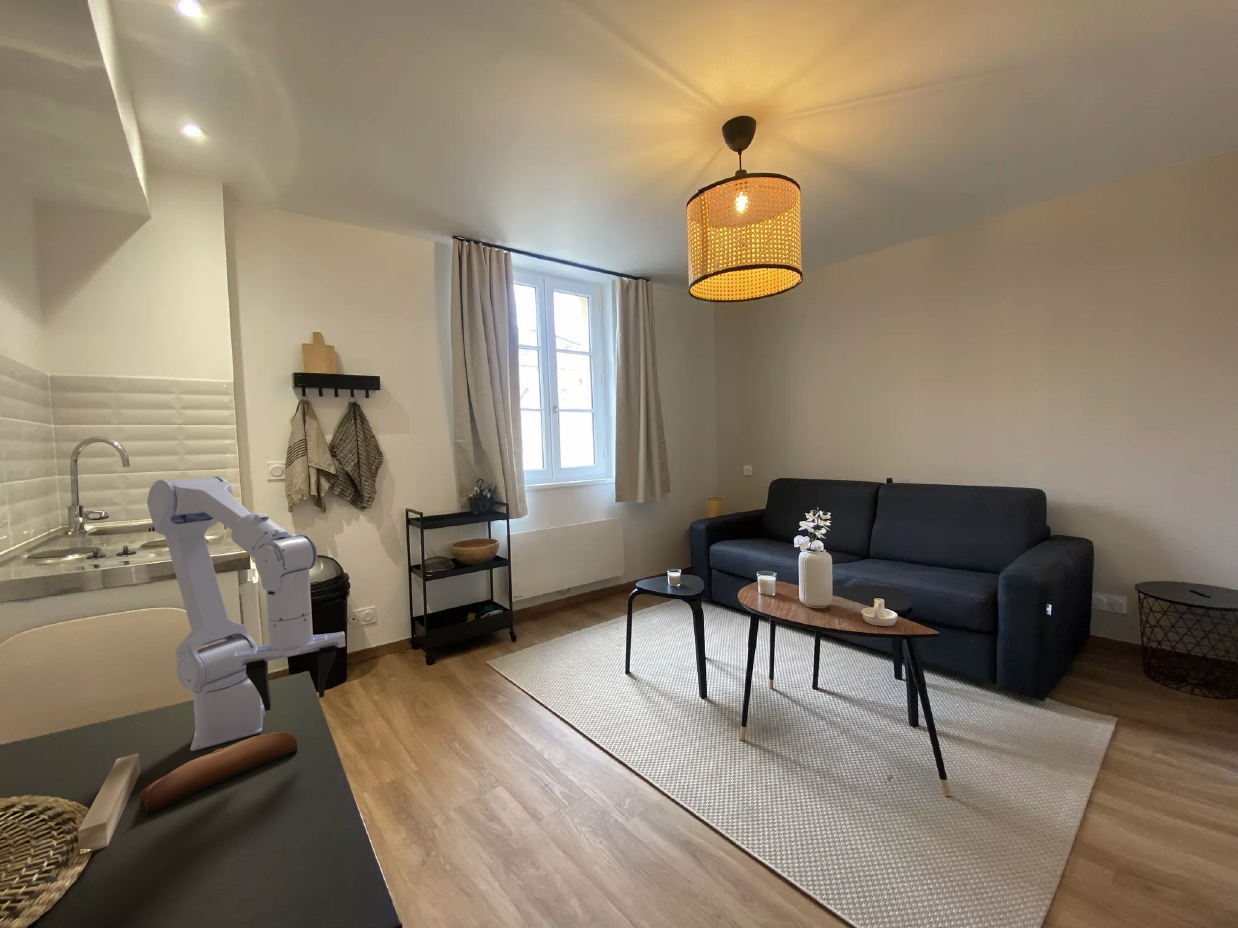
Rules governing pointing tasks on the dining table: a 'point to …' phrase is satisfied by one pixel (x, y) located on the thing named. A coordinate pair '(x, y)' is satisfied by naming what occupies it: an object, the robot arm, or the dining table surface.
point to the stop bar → (109, 804)
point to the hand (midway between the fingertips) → (295, 701)
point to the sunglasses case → (216, 768)
